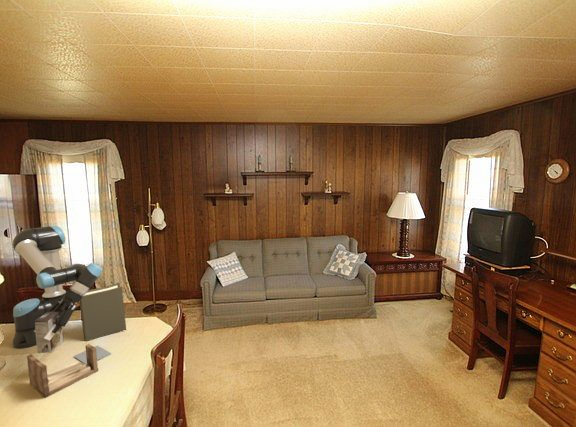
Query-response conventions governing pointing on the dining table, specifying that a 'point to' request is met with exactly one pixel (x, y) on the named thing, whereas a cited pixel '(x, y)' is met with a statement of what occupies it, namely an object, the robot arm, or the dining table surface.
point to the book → (102, 311)
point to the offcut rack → (60, 373)
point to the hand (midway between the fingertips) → (41, 335)
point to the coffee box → (43, 327)
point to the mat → (100, 354)
